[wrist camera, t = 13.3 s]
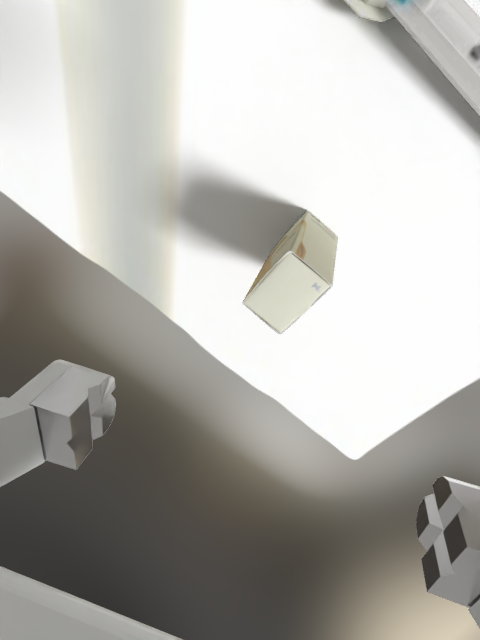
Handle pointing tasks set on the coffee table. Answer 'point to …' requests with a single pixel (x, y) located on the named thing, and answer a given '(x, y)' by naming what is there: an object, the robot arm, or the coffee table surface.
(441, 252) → the coffee table surface
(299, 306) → the skincare box
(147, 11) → the coffee table surface
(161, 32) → the coffee table surface
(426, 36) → the white handheld device
